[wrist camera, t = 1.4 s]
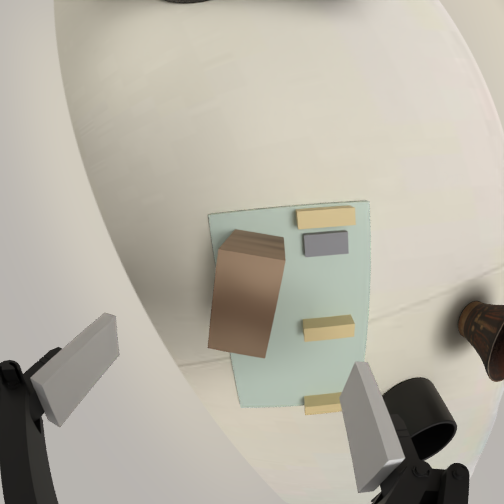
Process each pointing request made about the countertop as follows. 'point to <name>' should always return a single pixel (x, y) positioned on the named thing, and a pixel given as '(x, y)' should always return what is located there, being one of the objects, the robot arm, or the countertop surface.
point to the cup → (485, 335)
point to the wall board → (308, 303)
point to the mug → (422, 415)
